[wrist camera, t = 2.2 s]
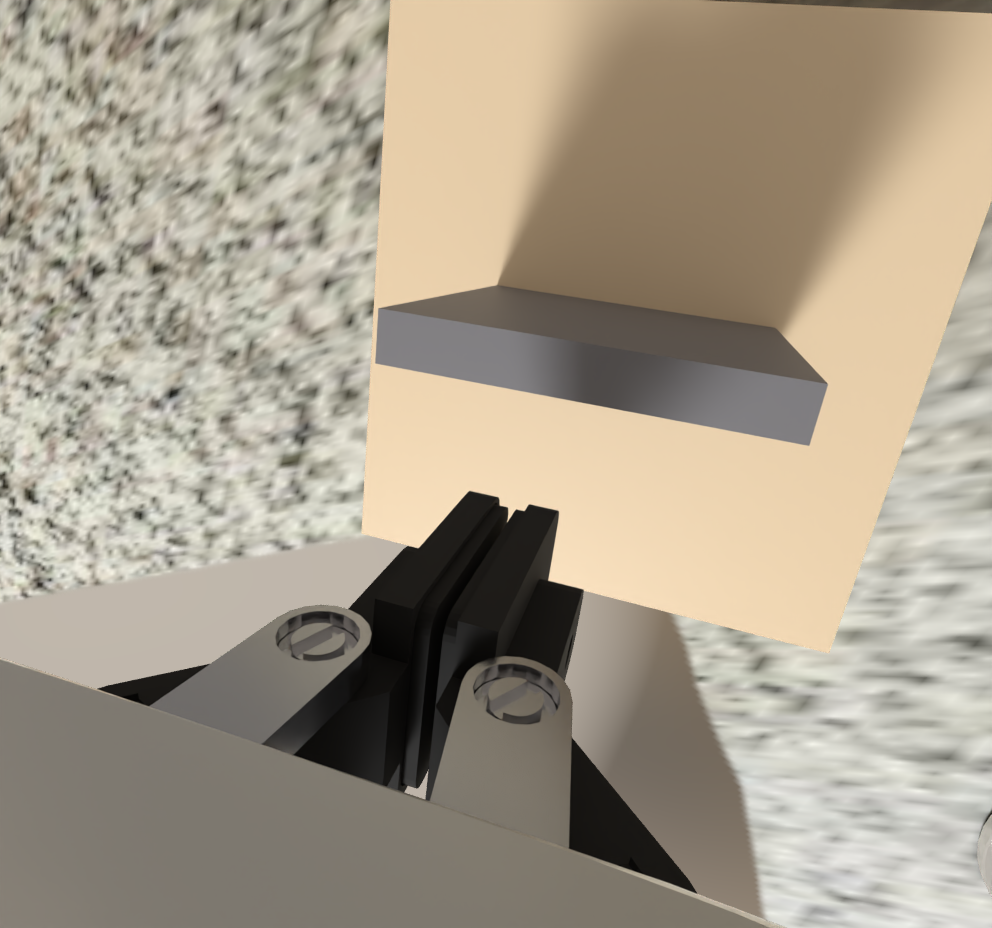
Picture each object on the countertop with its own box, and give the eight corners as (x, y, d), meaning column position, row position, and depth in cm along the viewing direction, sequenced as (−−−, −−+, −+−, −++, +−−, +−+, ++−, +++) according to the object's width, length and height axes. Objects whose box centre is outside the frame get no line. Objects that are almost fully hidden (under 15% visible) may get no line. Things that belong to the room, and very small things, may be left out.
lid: (825, 643, 23) (901, 881, 15) (368, 527, 27) (213, 659, 19) (1045, 24, 17) (1427, -220, 8) (399, -7, 21) (181, -192, 12)
